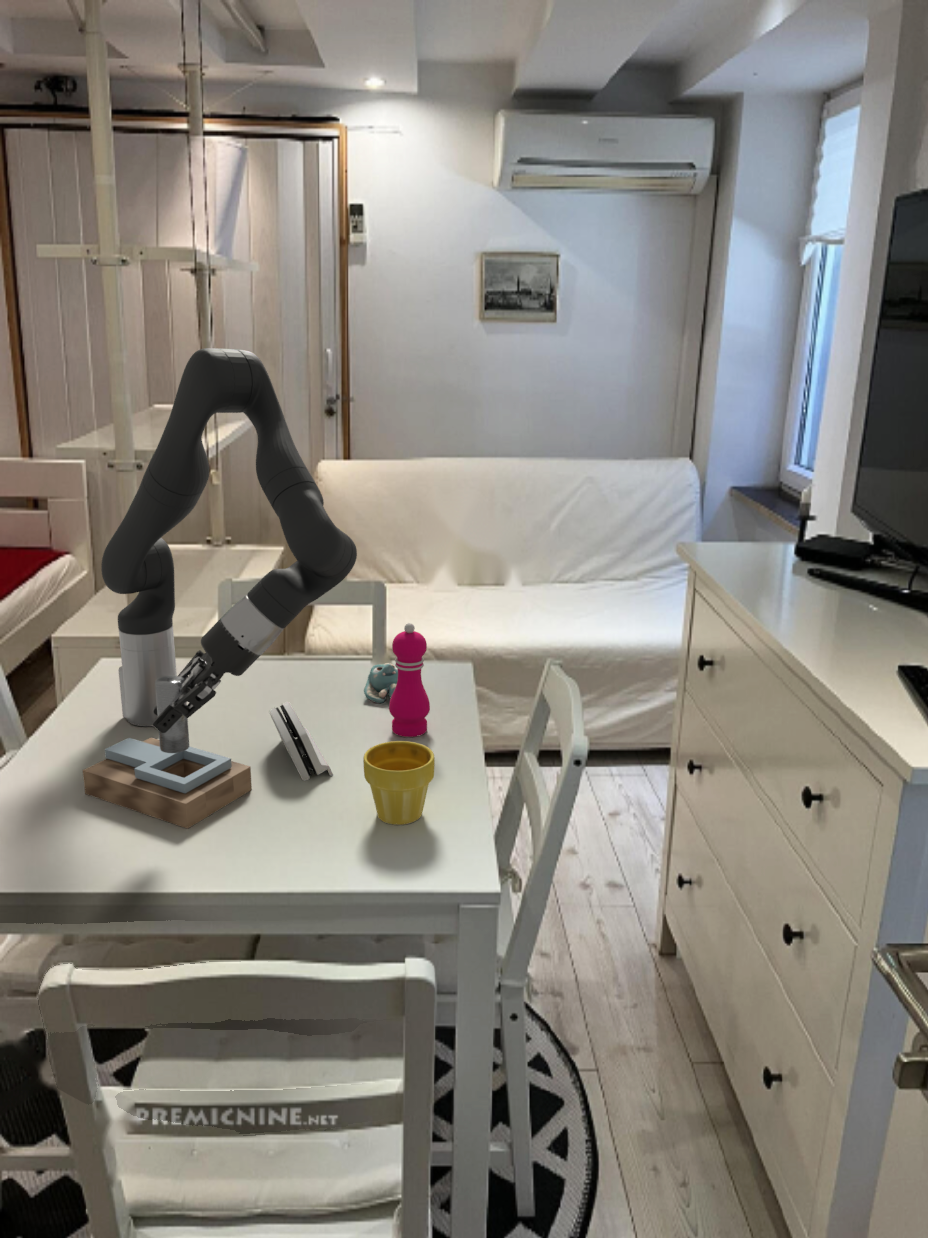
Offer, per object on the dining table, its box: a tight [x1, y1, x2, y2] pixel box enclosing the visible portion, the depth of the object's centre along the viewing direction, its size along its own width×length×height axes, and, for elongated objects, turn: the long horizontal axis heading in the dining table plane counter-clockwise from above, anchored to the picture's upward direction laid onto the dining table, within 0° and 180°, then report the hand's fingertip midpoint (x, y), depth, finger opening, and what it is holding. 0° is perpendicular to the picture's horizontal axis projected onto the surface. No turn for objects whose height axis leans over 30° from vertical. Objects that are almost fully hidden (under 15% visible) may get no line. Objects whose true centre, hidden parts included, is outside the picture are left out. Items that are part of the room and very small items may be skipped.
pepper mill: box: [388, 622, 431, 738], centre depth 176 cm, size 7×7×20 cm
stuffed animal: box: [363, 662, 398, 704], centre depth 193 cm, size 11×7×12 cm
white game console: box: [268, 701, 334, 781], centre depth 166 cm, size 17×5×10 cm, turn 21°
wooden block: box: [82, 737, 253, 830], centre depth 155 cm, size 21×14×4 cm, turn 61°
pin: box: [155, 675, 190, 753], centre depth 141 cm, size 4×4×10 cm
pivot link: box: [104, 737, 232, 793], centre depth 154 cm, size 19×10×2 cm, turn 61°
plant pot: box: [363, 740, 436, 826], centre depth 148 cm, size 10×10×10 cm
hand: (158, 721), depth 140 cm, fingers closed on pin, 4 cm apart
